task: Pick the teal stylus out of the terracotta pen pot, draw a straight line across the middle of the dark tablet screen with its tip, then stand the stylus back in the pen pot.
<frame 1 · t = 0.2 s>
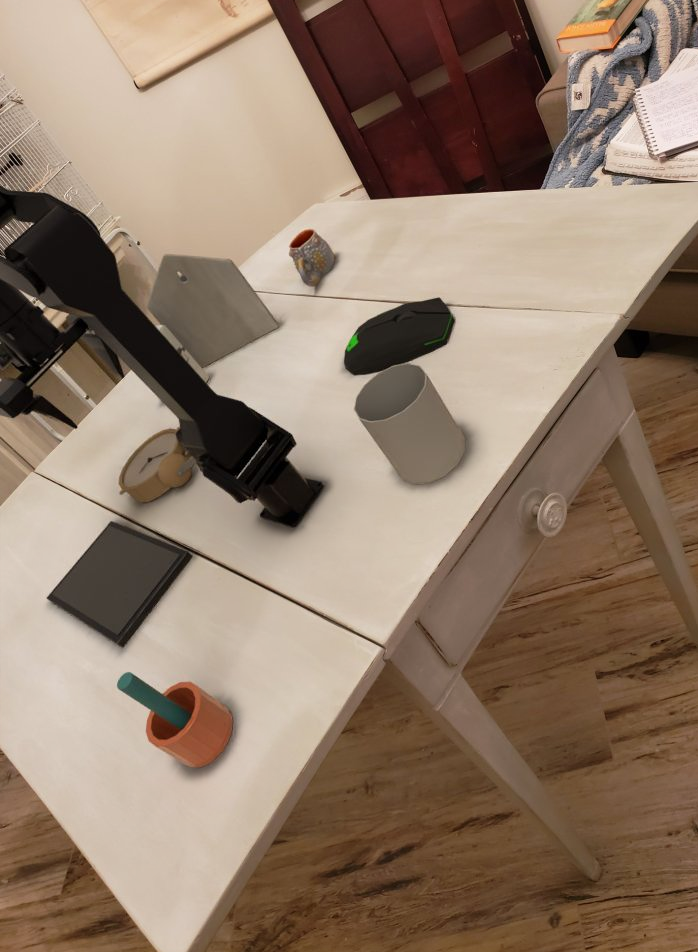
hand: (99, 402, 96), 15 cm above the table, tool pointing down, fingers open, 9 cm apart
grey house-shaped block: (240, 337, 124), on the table
cup: (431, 455, 80), on the table
alarm clock: (174, 471, 104), on the table
tablet: (119, 579, 92), on the table
computer mouse: (399, 341, 99), on the table
stylus: (203, 733, 68), resting on pen pot
mug: (319, 278, 125), on the table
pen pot: (206, 735, 68), on the table
ink box: (187, 390, 120), on the table
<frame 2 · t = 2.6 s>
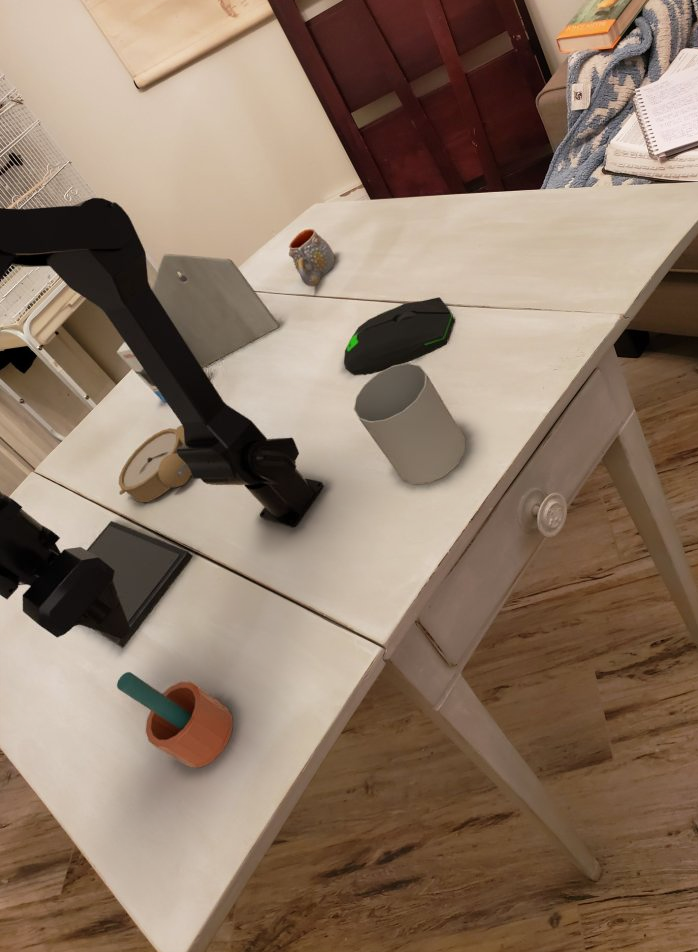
hand: (103, 618, 65), 14 cm above the table, tool pointing down, fingers open, 9 cm apart
nothing on the table moved.
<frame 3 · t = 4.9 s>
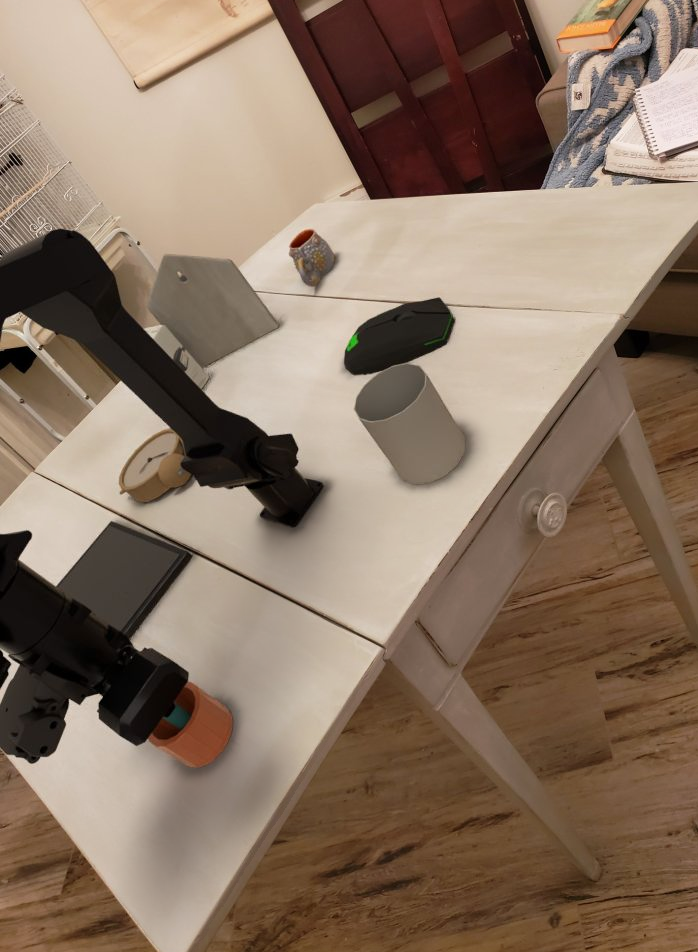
hand: (165, 707, 65), 6 cm above the table, tool pointing down, fingers closed on stylus, 1 cm apart
stylus: (203, 733, 68), point 1 cm above the table, touching gripper, pen pot
everything else where it was.
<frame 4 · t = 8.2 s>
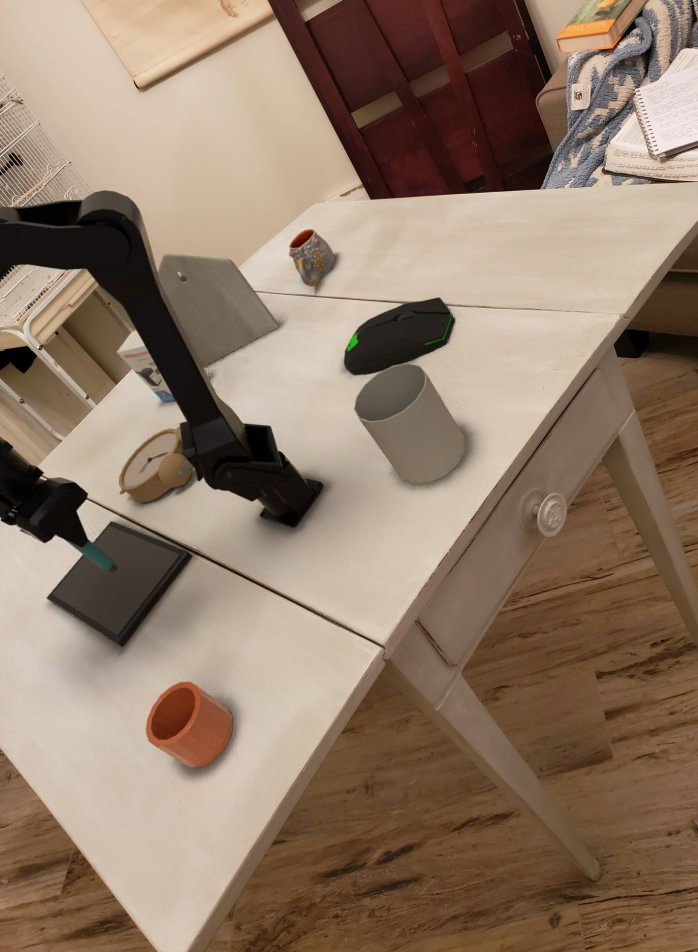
hand: (81, 542, 81), 11 cm above the table, tool pointing down, fingers closed on stylus
stylus: (114, 569, 84), point 6 cm above the table, touching gripper
everything else where it was.
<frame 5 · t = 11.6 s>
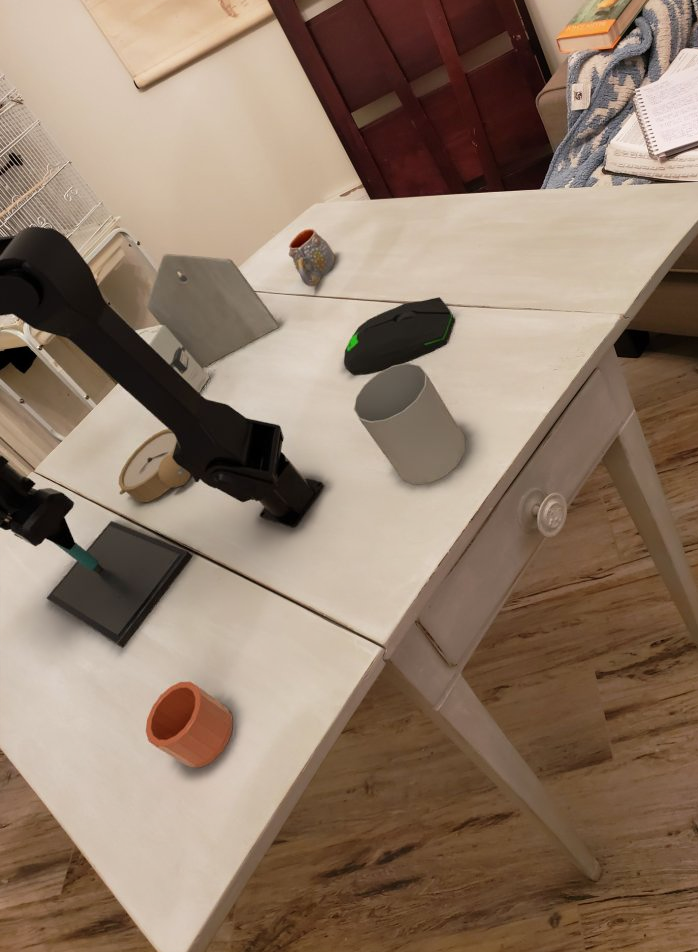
hand: (68, 545, 91), 7 cm above the table, tool pointing down, fingers closed on stylus, 1 cm apart
stylus: (98, 569, 94), point 1 cm above the table, touching gripper
everything else where it was.
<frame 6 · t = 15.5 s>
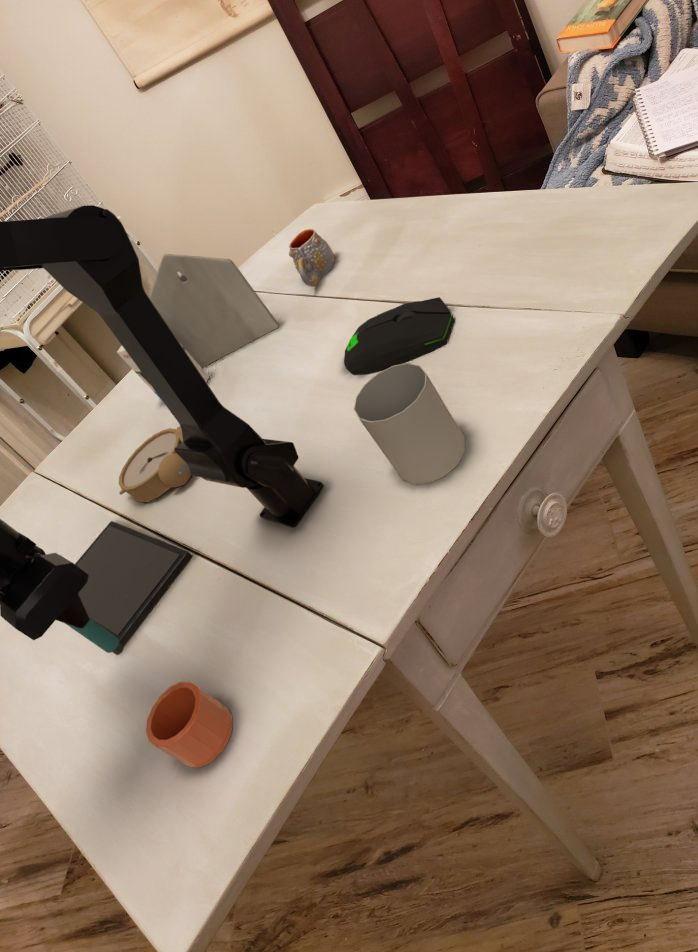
hand: (81, 620, 67), 13 cm above the table, tool pointing down, fingers closed on stylus
stylus: (119, 650, 71), point 8 cm above the table, touching gripper
everything else where it was.
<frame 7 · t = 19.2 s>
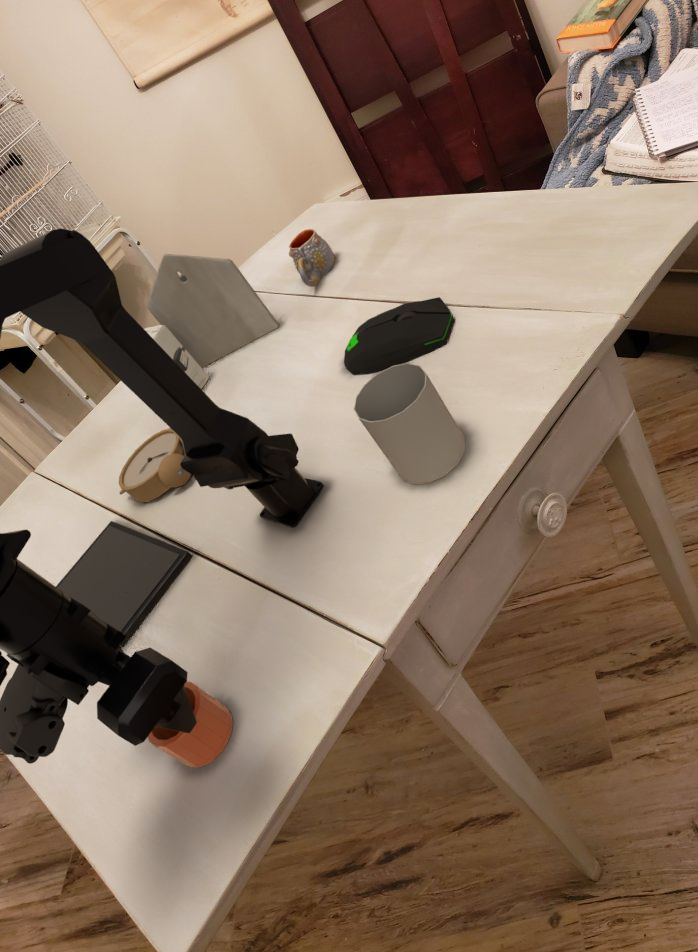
hand: (164, 707, 65), 6 cm above the table, tool pointing down, fingers open, 9 cm apart
stylus: (202, 734, 68), resting on pen pot
everything else where it was.
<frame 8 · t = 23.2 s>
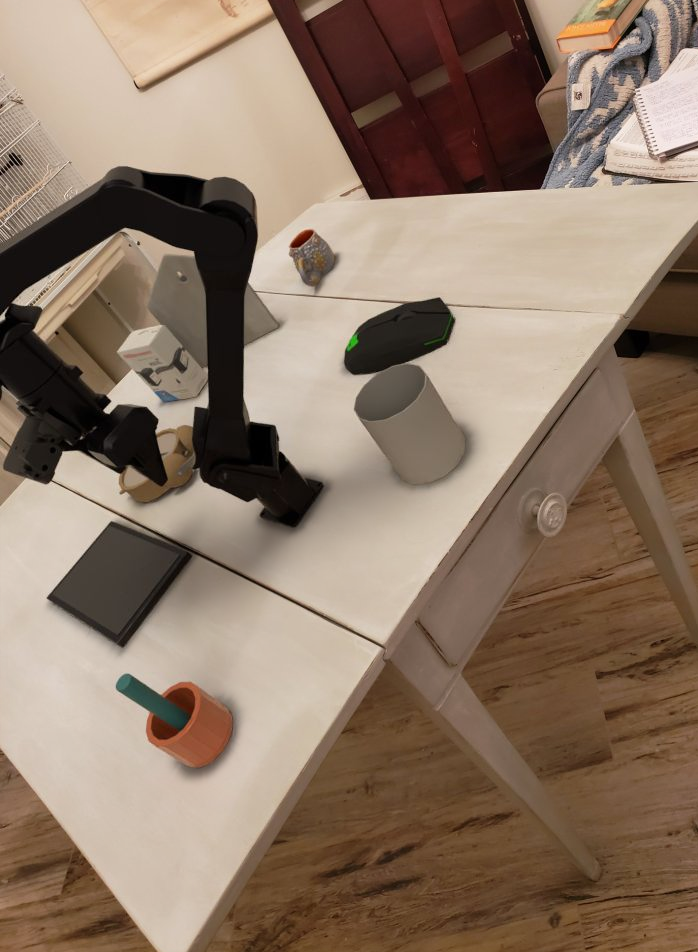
hand: (143, 476, 80), 13 cm above the table, tool pointing down, fingers open, 9 cm apart
nothing on the table moved.
at the end: stylus 0.1 cm off-centre in the pen pot, point 0.5 cm above the pen pot's base; stylus tilted 0°; stylus touching pen pot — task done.
